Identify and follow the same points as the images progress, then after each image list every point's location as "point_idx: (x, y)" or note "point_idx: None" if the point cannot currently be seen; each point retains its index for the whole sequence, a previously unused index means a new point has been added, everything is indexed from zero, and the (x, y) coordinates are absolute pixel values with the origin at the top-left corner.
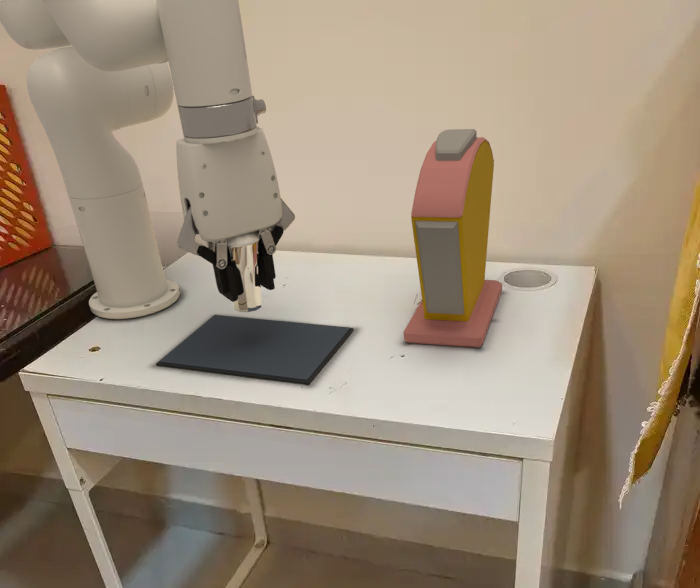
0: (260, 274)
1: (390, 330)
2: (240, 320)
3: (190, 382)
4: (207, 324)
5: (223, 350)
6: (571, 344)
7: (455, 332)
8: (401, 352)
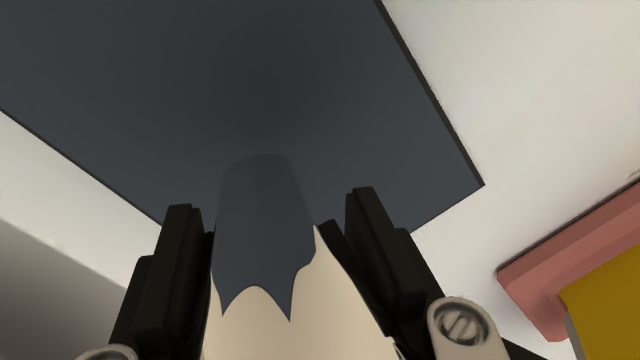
0: (357, 256)
1: (523, 219)
2: None
3: (48, 199)
4: None
5: (166, 116)
6: None
7: (544, 329)
8: (466, 289)
